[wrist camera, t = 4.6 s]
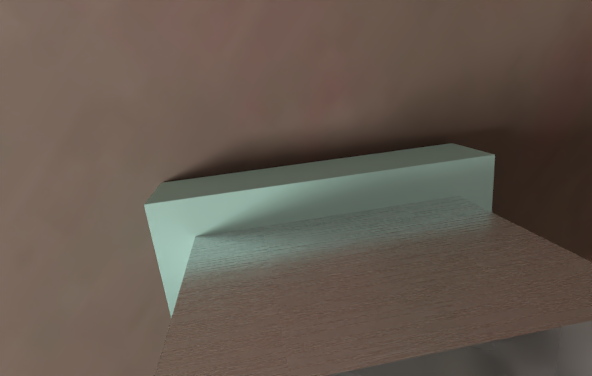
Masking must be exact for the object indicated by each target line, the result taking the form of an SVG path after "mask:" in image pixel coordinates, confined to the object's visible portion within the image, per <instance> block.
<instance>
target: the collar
mask: <svg viewBox="0 0 592 376" xmlns="http://www.w3.org/2000/svg"><path fill="white" fill-rule="evenodd" d="M155 376H592V262H590V261H588V260H586V259H584V258H582V257H580V256H578V255H576V254H574V253H572V252H570V251H568V250H566V249H564V248H562V247H560V246H558V245H556V244H554V243H552V242H550V241H548V240H546V239H544V238H542V237H540V236H538V235H536V234H534V233H532V232H530V231H528V230H526V229H524V228H522V227H520V226H518V225H516V224H514V223H512V222H510V221H508V220H506V219H504V218H502V217H500V216H498V215H496V214H494V213H492V212H490V211H488V210H486V209H484V208H482V207H480V206H478V205H476V204H474V203H472V202H470V201H468V200H466V199H464V198H462V197H460V196H454V197H448V198H442V199H435V200H429V201H422V202H416V203H409V204H403V205H396V206H390V207H384V208H377V209H371V210H364V211H358V212H351V213H345V214H338V215H332V216H326V217H319V218H313V219H306V220H300V221H293V222H287V223H280V224H274V225H268V226H261V227H255V228H248V229H242V230H235V231H229V232H222V233H216V234H210V235H203V236H197V237H195V239H194V242H193V246H192V249H191V253H190V256H189V259H188V263H187V266H186V270H185V273H184V277H183V280H182V284H181V287H180V290H179V294H178V297H177V301H176V304H175V308H174V311H173V315H172V318H171V321H170V325H169V328H168V332H167V335H166V339H165V342H164V346H163V349H162V352H161V356H160V359H159V363H158V366H157V370H156V373H155Z"/></svg>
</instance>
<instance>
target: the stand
mask: <svg viewBox="0 0 592 376" xmlns="http://www.w3.org/2000/svg"><path fill="white" fill-rule="evenodd" d="M494 165H495V154H491V153H487V152H483V151H480V150H476V149H472V148H469V147H465V146H461V145H457V144H454V143H449V144H442V145H435V146H427V147H420V148H413V149H405V150H398V151H391V152H383V153H376V154H369V155H361V156H354V157H347V158H339V159H332V160H325V161H317V162H310V163H303V164H295V165H288V166H281V167H273V168H266V169H259V170H251V171H244V172H237V173H229V174H222V175H215V176H207V177H200V178H193V179H185V180H178V181H171V182H163V183H161V184H160V185H159V187H158V188H157V189H156V190H155V192H154V193H153V194H152V195H151V197H150V198H149V199H148V200H147V202H146V203H145V204H144V206H145V211H146V215H147V219H148V223H149V227H150V231H151V235H152V240H153V244H154V248H155V252H156V256H157V260H158V265H159V269H160V273H161V277H162V281H163V285H164V289H165V294H166V298H167V302H168V306H169V310H170V314H171V318H172V315H173V311H174V308H175V304H176V301H177V297H178V294H179V290H180V287H181V284H182V280H183V277H184V273H185V270H186V266H187V263H188V259H189V256H190V253H191V249H192V246H193V242H194V239H195V237H197V236H203V235H210V234H216V233H222V232H229V231H235V230H242V229H248V228H255V227H261V226H268V225H274V224H280V223H287V222H293V221H300V220H306V219H313V218H319V217H326V216H332V215H338V214H345V213H351V212H358V211H364V210H371V209H377V208H384V207H390V206H396V205H403V204H409V203H416V202H422V201H429V200H435V199H442V198H448V197H454V196H460V197H462V198H464V199H466V200H468V201H470V202H472V203H474V204H476V205H478V206H480V207H482V208H484V209H486V210H488V211H490V212H492V199H493V182H494Z"/></svg>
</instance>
